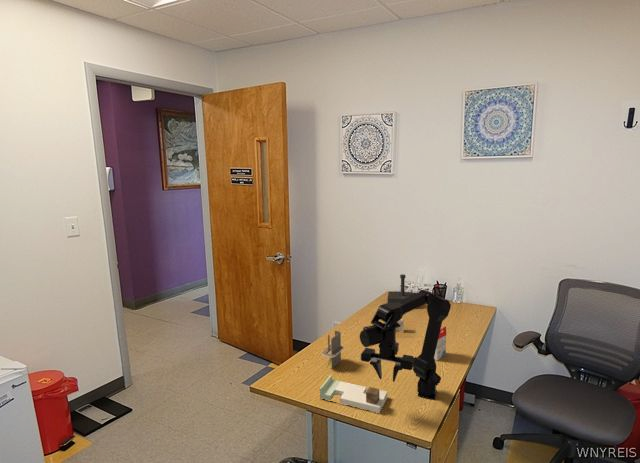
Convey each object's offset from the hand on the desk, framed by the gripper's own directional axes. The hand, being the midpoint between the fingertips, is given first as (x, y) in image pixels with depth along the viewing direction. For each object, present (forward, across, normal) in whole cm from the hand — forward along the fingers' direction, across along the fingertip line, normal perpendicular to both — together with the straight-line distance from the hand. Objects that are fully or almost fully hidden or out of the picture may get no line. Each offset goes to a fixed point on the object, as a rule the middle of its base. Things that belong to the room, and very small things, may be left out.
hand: (387, 380), depth 141 cm
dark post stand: (+12, +20, -115) cm, 118 cm away
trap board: (+12, +14, -2) cm, 19 cm away
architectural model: (+13, +32, -24) cm, 42 cm away
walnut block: (+10, +6, 0) cm, 11 cm away
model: (+13, +15, -70) cm, 73 cm away
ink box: (+12, -11, -49) cm, 52 cm away
